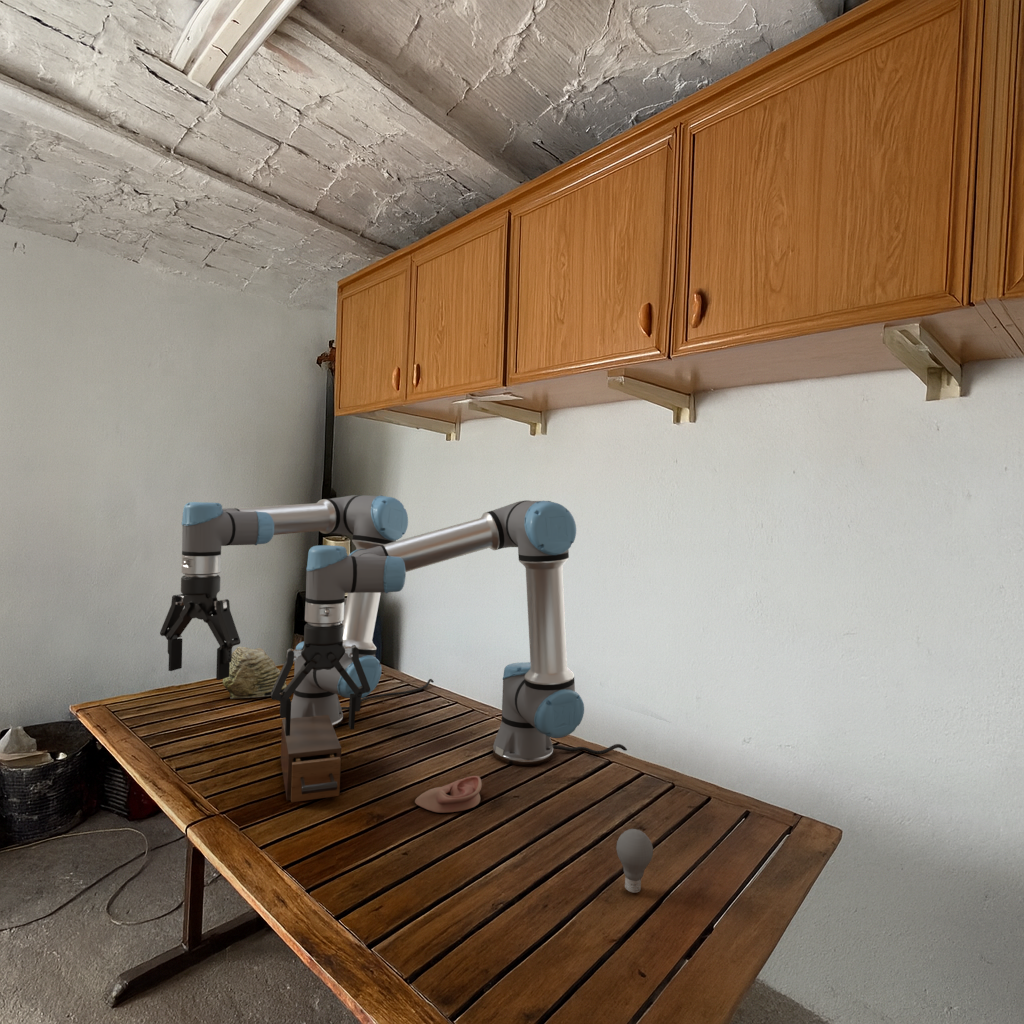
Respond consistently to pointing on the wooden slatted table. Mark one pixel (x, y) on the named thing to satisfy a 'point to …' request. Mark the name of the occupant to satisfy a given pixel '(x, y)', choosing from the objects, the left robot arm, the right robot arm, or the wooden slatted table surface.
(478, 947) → the wooden slatted table surface
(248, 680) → the fossil
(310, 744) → the cabinet
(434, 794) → the anatomical model
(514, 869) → the wooden slatted table surface
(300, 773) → the drawer
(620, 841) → the light bulb
